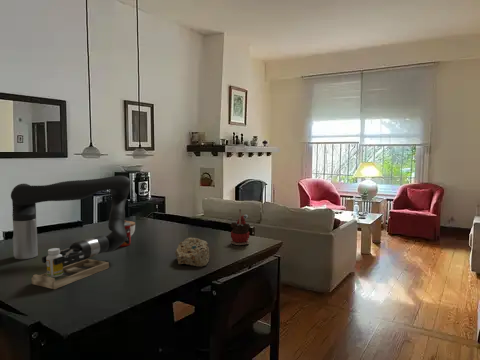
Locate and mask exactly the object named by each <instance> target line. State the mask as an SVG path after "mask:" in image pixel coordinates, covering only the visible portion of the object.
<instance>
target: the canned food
mask: <svg viewBox="0 0 480 360" xmlns="http://www.w3.org/2000/svg"><path fill="white" fill-rule="evenodd" d="M124 226H125V230H126V234H127V237H126V240H125V242H124V243H123V244H122V245H120V246H119V247H120V248H123V247H128V246H130V245H131V243H132V242H131V241H132V240H131V237H132V236H131V235H130V223H128V222H125V224H124ZM119 247H118V248H119Z"/></svg>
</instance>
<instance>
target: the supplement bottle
mask: <svg viewBox="0 0 480 360" xmlns="http://www.w3.org/2000/svg"><path fill="white" fill-rule="evenodd" d="M60 249H61V248H59V247H58V248H57V247H53V248H49V249H48V250H47V254H48V256H47V255H46V256H47V257H46V263H45V264H46V273H47V276H48V277H58V276H61V275H63V267H64V262H63V263H60V264H58V265H54V264H53V260H54V259H55V258H58V257H62V255H61V254H59V253H60Z"/></svg>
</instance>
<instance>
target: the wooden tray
mask: <svg viewBox="0 0 480 360" xmlns="http://www.w3.org/2000/svg"><path fill="white" fill-rule="evenodd" d="M107 269H110V262H109V261H103V260H97V259H93V258H87V259H84V260H82V261H75V262H72V263H70V264H68V265H65V266H64V265H63V275H61V276H58V277H48V276H47V272H44V273H42V274H37V273H36V274H33V275H32V277H31V285H35V286H38V287H39V286H40V287H43V288H48V289H51V290H57V289H59V288H62V287H64V286H66V285H69V284H71V283H75V282H77V281H79V280H82V279H85V278H87V277H89V276H92V275H95V274H98V273H100V272H103V271H105V270H107Z"/></svg>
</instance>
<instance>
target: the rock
mask: <svg viewBox="0 0 480 360" xmlns="http://www.w3.org/2000/svg"><path fill="white" fill-rule="evenodd" d="M208 245H209V244H208V242H207V241H206V240H203V239H200V238H197V237H187V238H185V239H184V240H183V241H180V242H179V243H178V245H177V248H176V250H175V252H174V253H175V254H174V255H175V257H176V258H177V264H178V265H182V264H185V265H189V266H196V267H204V266H207V265H208V263H209V261H210V260H209V259H210V248H209V246H208Z"/></svg>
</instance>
